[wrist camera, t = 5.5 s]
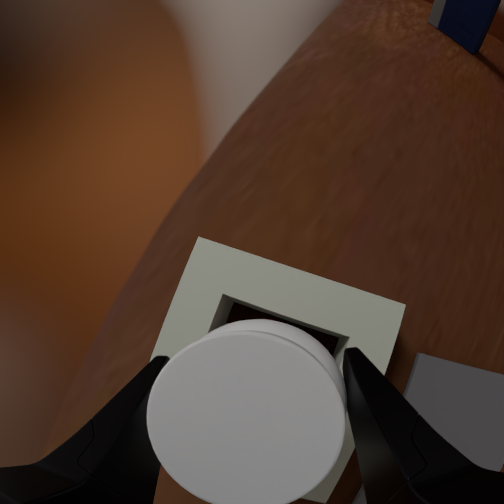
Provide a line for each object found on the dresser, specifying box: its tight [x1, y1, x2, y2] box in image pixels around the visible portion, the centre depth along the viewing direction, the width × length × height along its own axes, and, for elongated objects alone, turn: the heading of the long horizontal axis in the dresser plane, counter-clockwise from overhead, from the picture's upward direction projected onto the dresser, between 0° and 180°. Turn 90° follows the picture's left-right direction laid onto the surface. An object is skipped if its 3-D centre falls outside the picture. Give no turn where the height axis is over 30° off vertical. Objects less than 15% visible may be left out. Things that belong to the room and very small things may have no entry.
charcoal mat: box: [352, 353, 504, 504], centre depth 14 cm, size 14×12×1 cm
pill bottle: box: [147, 319, 347, 504], centre depth 11 cm, size 6×6×10 cm
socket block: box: [150, 237, 405, 503], centre depth 17 cm, size 12×12×4 cm
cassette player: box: [428, 0, 501, 54], centre depth 20 cm, size 7×2×12 cm, turn 36°
